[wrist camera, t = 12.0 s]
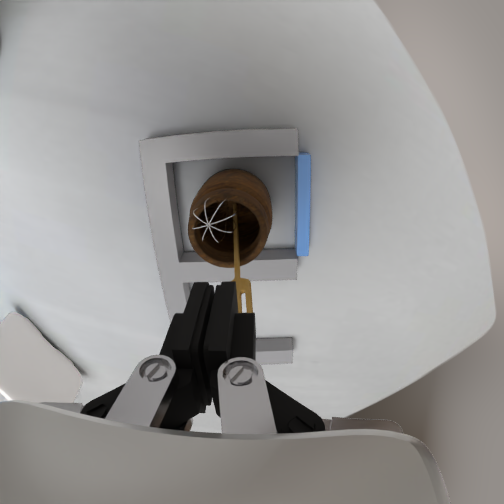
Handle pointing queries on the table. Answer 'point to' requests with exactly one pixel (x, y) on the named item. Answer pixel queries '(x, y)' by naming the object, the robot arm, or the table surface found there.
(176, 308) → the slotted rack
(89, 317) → the table surface
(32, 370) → the cable organizer
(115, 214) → the table surface
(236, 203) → the utensil holder
